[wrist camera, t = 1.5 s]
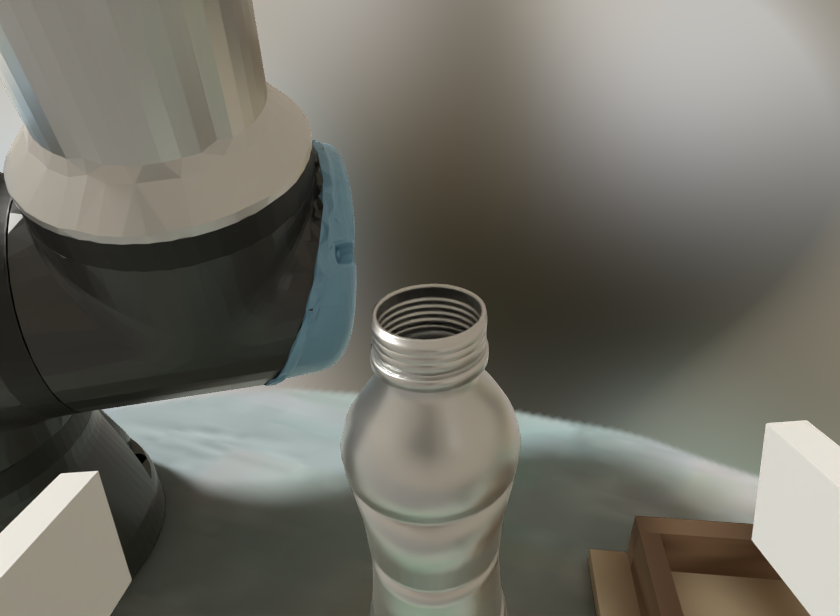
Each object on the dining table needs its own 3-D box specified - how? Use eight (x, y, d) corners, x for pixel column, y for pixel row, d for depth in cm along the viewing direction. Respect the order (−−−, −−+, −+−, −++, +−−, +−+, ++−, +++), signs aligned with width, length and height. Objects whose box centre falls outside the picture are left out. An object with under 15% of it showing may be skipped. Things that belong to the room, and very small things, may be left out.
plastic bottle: (534, 680, 27) (582, 327, 17) (408, 762, 24) (374, 403, 14) (462, 572, 32) (465, 249, 22) (351, 631, 29) (295, 294, 19)
